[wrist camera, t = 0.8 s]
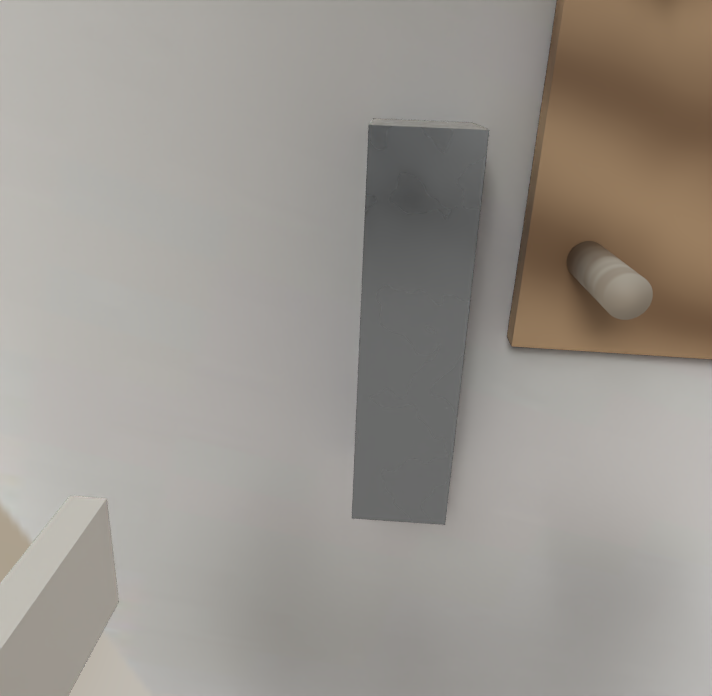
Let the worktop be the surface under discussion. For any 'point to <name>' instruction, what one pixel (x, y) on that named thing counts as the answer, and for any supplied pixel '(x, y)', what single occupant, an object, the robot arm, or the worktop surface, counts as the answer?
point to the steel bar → (414, 312)
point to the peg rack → (621, 184)
